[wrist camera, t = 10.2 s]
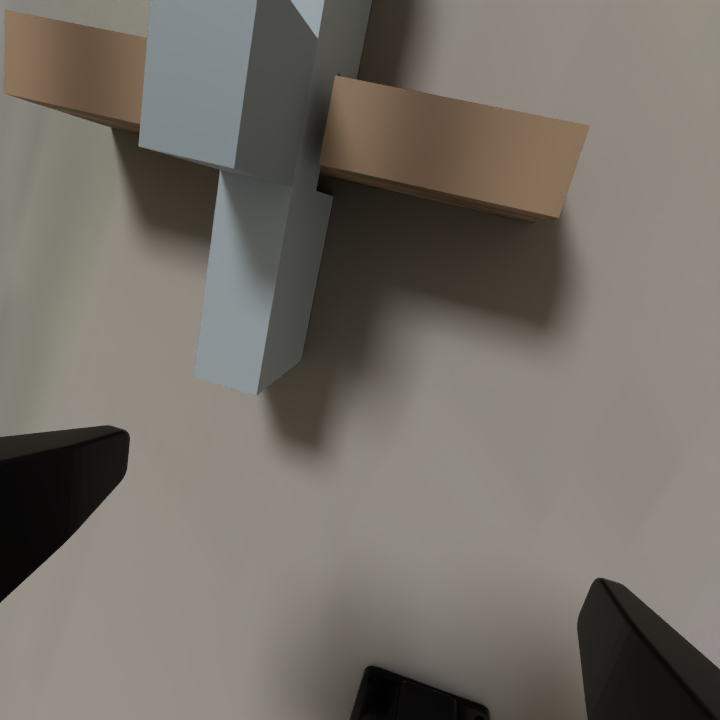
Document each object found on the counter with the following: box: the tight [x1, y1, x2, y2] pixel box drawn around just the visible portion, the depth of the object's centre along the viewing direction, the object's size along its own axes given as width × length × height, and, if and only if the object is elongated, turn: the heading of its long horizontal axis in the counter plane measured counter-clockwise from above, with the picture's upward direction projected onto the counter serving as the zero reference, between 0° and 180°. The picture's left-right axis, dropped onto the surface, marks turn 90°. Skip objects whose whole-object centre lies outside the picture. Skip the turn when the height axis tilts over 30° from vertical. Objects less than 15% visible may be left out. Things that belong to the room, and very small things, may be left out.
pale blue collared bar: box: [138, 0, 372, 396], centre depth 15 cm, size 18×2×9 cm, turn 167°
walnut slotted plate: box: [4, 10, 589, 223], centre depth 16 cm, size 18×2×5 cm, turn 77°
